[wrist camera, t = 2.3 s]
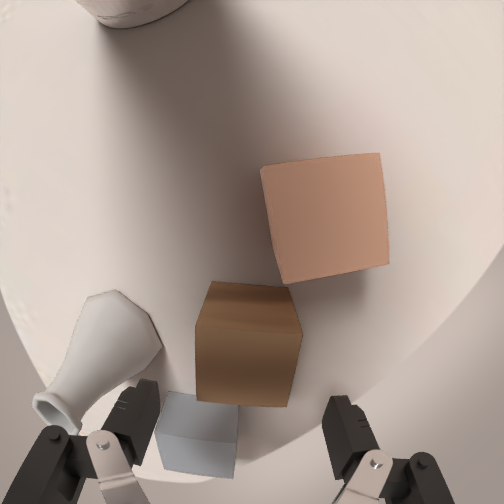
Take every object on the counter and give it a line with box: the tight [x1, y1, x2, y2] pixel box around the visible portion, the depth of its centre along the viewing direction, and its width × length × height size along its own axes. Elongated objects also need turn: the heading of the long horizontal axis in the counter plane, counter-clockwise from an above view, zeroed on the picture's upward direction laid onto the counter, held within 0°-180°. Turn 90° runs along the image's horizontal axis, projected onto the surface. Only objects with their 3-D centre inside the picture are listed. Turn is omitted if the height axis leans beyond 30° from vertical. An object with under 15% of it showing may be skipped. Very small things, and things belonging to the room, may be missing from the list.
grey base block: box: [154, 391, 239, 479], centre depth 19 cm, size 6×6×5 cm
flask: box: [32, 290, 163, 436], centre depth 14 cm, size 7×7×10 cm
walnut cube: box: [195, 281, 303, 407], centre depth 16 cm, size 5×5×6 cm
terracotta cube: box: [260, 153, 389, 284], centre depth 14 cm, size 5×5×6 cm
